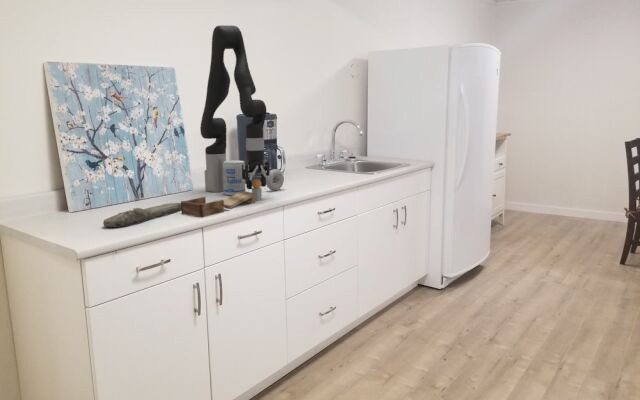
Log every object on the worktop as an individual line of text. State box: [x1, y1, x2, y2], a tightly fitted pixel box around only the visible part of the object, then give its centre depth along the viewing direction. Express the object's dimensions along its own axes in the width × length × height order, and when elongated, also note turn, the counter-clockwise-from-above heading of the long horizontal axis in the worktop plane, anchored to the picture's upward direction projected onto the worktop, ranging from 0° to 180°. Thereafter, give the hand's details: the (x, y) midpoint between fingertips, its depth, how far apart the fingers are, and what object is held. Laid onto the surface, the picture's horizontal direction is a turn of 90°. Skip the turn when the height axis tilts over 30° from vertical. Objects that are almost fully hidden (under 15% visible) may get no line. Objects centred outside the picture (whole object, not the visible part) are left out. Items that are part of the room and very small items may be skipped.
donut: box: [266, 168, 285, 191], centre depth 236 cm, size 10×4×10 cm, turn 136°
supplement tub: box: [223, 159, 246, 197], centre depth 227 cm, size 10×10×15 cm
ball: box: [252, 178, 262, 189], centre depth 214 cm, size 4×4×4 cm
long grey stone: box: [102, 202, 181, 228], centre depth 184 cm, size 35×5×10 cm
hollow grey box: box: [251, 187, 263, 202], centre depth 215 cm, size 3×3×5 cm
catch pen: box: [180, 196, 225, 218], centre depth 192 cm, size 11×11×4 cm
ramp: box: [223, 191, 256, 209], centre depth 206 cm, size 14×7×4 cm, turn 144°
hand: (256, 187), depth 214 cm, fingers open, 8 cm apart
